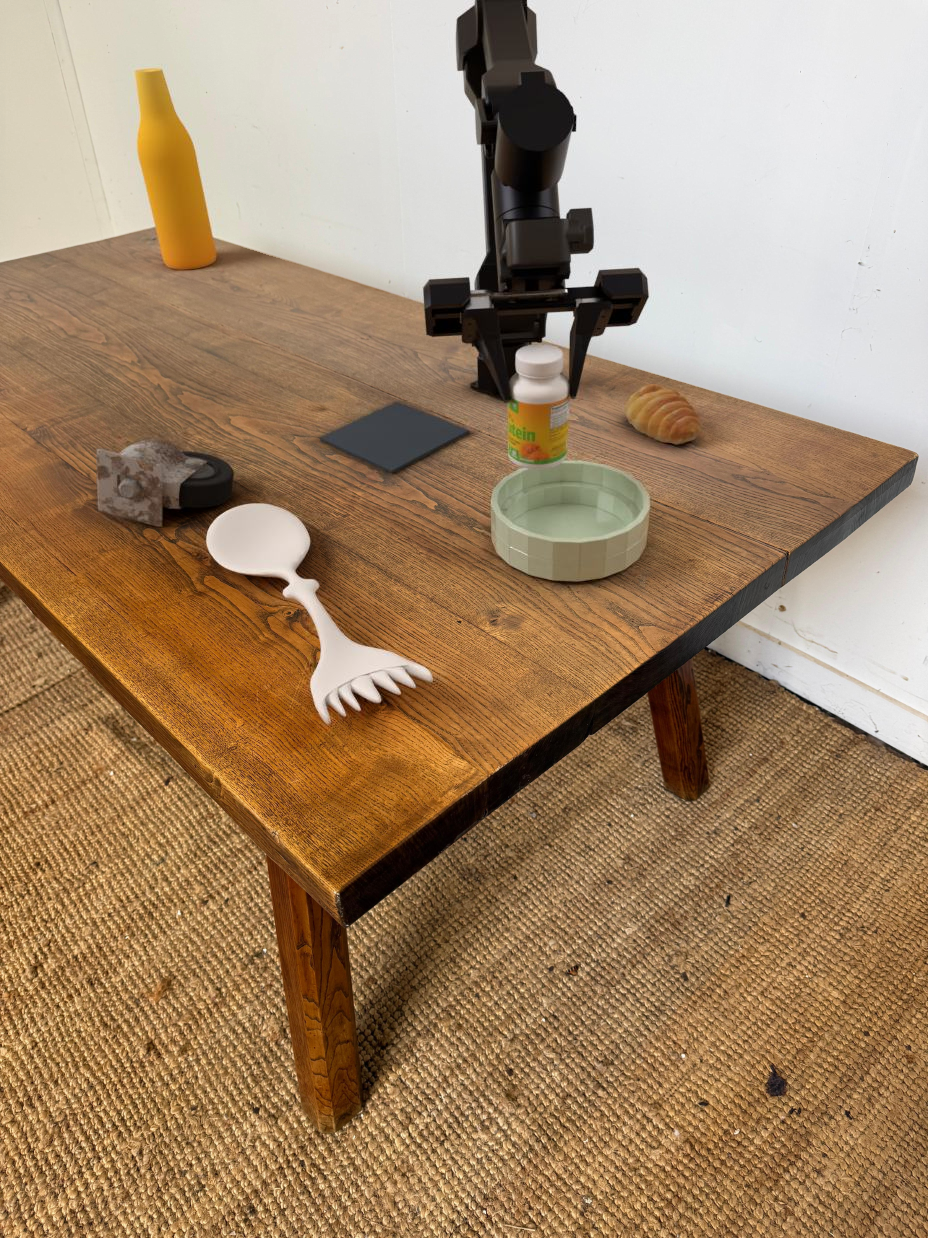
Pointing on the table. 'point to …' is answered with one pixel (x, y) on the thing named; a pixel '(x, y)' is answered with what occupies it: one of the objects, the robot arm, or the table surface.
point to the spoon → (307, 605)
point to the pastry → (663, 415)
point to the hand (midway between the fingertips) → (540, 399)
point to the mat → (394, 436)
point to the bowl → (570, 520)
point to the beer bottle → (172, 177)
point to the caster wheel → (159, 480)
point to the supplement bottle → (538, 408)
